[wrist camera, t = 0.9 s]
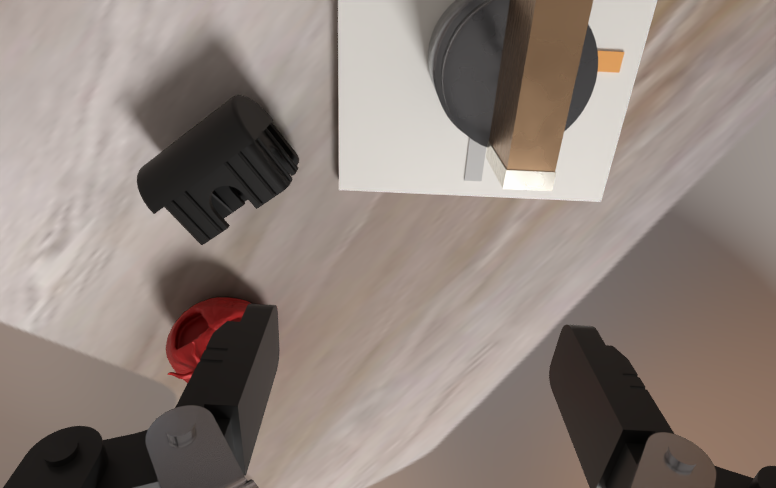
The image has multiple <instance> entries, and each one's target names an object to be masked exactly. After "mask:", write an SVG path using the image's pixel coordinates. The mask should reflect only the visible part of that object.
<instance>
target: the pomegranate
mask: <svg viewBox="0 0 776 488" xmlns="http://www.w3.org/2000/svg"><path fill="white" fill-rule="evenodd" d="M248 304H251V303H250V302H248V301H245V300H241V299H237V298H230V297H216V298H210V299H207V300H205V301H202V302H199V303H197V304H195V305H194V306H192V307H191V308H189V309H188V310H187V311H185V312H184V313H183V314H182V315H181V317H180V318H179V319H178V320H177V321H176V323H175V324H174V325H173V327H172V329H171V331H170V333H169V335H168V338H167V344H166V354H167V358H168V360H169V362H170V364H171V366H172V367H173V369H174V370H175V371H176V373H174V372H170V373H168V375H173V376H175V377H177V378H180V379H183V380H184V381H186V382H187V383H188V382H189V380H190V378H191V376H192V374H193V372H194V370H195V368H196V366H197V364H198V362H200V358H201V356H202V354H203V352H204V350H206V346H207V344H208V342H209V340H210V338H211V336H212V334H213V333H214V332H215V331H216V330H217V329H218V328H220V327H221V326H222V325H223V324H224V323H225V322H227V321H236V322H240V321H241V319H242V316H243V314H244V312H245V310H246V307H247V305H248Z"/></svg>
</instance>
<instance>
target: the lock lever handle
mask: <svg viewBox="0 0 776 488" xmlns="http://www.w3.org/2000/svg"><path fill="white" fill-rule="evenodd" d="M592 4H593V0H486V1H485V2H483V3H481V4H480V5H478V6H477V7H476V8H474V9H473V10H472V11H471V12H470V13H468V14H467V15H466V16H465V18H464V19H463V20H462V21H461V22H460V23H459V25H458V26H457V27H456V29H455V30H454V32H453V34H452V35H451V37H450V39H449V41H448V44H447V46H446V49H445V52H444V55H443V59H442V66H441V86H442V92H443V96H444V99H445V102H446V104H447V107H448V109H449V111H450V113H451V115H452V117H453V119H454V121H455V122H456V124H457V125H458V126H459V128H460V129H461V130H462V131H463V132H464V133H465V134H466V135H467V136H468V137H469V138H471V139H472V140H473V141H475V142H477V143H478V144H480V145H482V146H485V147H487V151H486V159H487V161H488V162H489V164H490V166H491V168H492V170H493V172H494V173H495V175H496V177H497V179H498V181H499V183H500V185H501V186H502V188H503V189H515V190H537V191H552V190H553V185H554V181H555V177H556V171H555V170H556V166H557V161H558V157H559V152H560V148H561V143H562V139H563V134H564V131H566V130H567V129H568V128H569V127H570V126H571V125H572V124H573V123H574V122H575V121H576V120H577V118H578V117H579V116H580V114H581V113H582V112H583V110H584V108H585V107H586V105H587V103H588V101H589V99H590V97H591V95H592V92H593V89H594V86H595V83H596V78H597V72H598V50H597V45H596V41H595V38H594V35H593V32H592V30H591V28H590V26H589V24H588V22H589V18H590V13H591V9H592Z"/></svg>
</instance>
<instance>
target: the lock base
mask: <svg viewBox="0 0 776 488" xmlns="http://www.w3.org/2000/svg"><path fill="white" fill-rule="evenodd" d="M485 1H486V0H338V97H339V190H352V191H374V192H396V193H418V194H440V195H462V196H484V197H506V198H528V199H551V200H573V201H595V202H601V200H602V196H603V193H604V189H605V185H606V182H607V178H608V175H609V171H610V168H611V164H612V160H613V157H614V153H615V150H616V146H617V143H618V139H619V135H620V132H621V128H622V125H623V121H624V118H625V114H626V110H627V107H628V103H629V100H630V96H631V93H632V89H633V85H634V82H635V78H636V75H637V71H638V68H639V64H640V60H641V57H642V53H643V50H644V46H645V43H646V39H647V35H648V32H649V28H650V25H651V21H652V18H653V14H654V10H655V7H656V3H657V0H593V4H592V9H591V13H590V18H589V22H588V24H589V26H590V28H591V30H592V32H593V35H594V38H595V41H596V45H597V50H598V72H597V78H596V83H595V86H594V89H593V92H592V95H591V97H590V99H589V101H588V103H587V105H586V107H585V108H584V110H583V112H582V113H581V114H580V116H579V117H578V118H577V120H576V121H575V122H574V123H573V124H572V125H571V126H570V127H569V128H568V129H567V130H566V131H564V134H563V139H562V143H561V148H560V152H559V157H558V161H557V166H556V170H555V171H556V177H555V181H554V185H553V190H552V191H537V190H515V189H503V188H502V186H501V185H500V183H499V181H498V179H497V177H496V175H495V173H494V172H493V170H492V168H491V166H490V164H489V162H488V161H487V159H486V151H487V147H485V146H482V145H480V144H478V143H477V142H475V141H473V140H472V139H471V138H469V137H468V136H467V135H466V134H465V133H464V132H463V131H462V130H461V129H460V128H459V126H458V125H457V124H456V122H455V121H454V119H453V117H452V115H451V113H450V111H449V109H448V107H447V104H446V102H445V99H444V96H443V92H442V86H441V66H442V59H443V55H444V52H445V49H446V46H447V44H448V41H449V39H450V37H451V35H452V34H453V32H454V30H455V29H456V27H457V26H458V25H459V23H460V22H461V21H462V20H463V19H464V18H465V16H466V15H467V14H468V13H470V12H471V11H472V10H473V9H474V8H476V7H477V6H478V5H480V4H481V3H483V2H485Z"/></svg>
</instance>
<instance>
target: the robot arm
mask: <svg viewBox="0 0 776 488" xmlns="http://www.w3.org/2000/svg"><path fill="white" fill-rule="evenodd" d="M278 361H279V330H278V311H277V306H276V305H262V304H248V305H247V307H246V310H245V312H244V314H243V316H242V319H241V321H240V322H236V321H227V322H225V323H224V324H223V325H222V326H221V327H220V328H218V329H217V330H216V331H215V332H214V333H213V334H212V336H211V338H210V340H209V342H208V344H207V346H206V350H204V352H203V354H202V356H201V358H200V362H198V364H197V366H196V368H195V370H194V372H193V374H192V376H191V378H190V380H189V382H188V384H187V386H186V388H185V390H184V392H183V394H182V396H181V398H180V400H179V402H178V404H177V405H176V407H175V408H174V409H171V410H169V411H167V412H165V413H164V414H162V415H161V416H159V417H158V418H157V419H156V420H155V421H154V422H153V423H152V425H151V426H150V428H149V429H148V430H145V431H142V432H139V433H135V434H131V435H126V436H121V437H116V438H112V439H107V440H102V437H101V436H100V434H99V432H98V431H96V430H95V429H93V428H90V427H85V426H74V427H68V428H65V429H61V430H59V431H56V432H54V433H52V434H50V435H48V436H47V437H45V438H43V439H42V440H40V441H39V442H38V443H36V444H35V445H34V446H33V447H32V448H31V449H30V451H29V452H28V453H27V454H26V455H25V457H24V459H23V460H22V461H21V463H20V464H19V466H18V467H17V468H16V470H15V471H14V473H13V474H12V476H11V477H10V479H9V480H8V481H7V483H6V484H5V486H4V487H3V488H258V486H257V485H256V483H255V482H254V481H253V480H249V481H247V479H246V478H245V476H244V475H246V473H247V470H248V466H249V463H250V459H251V456H252V453H253V449H254V446H255V442H256V439H257V436H258V432H259V429H260V425H261V422H262V419H263V415H264V412H265V409H266V405H267V402H268V398H269V395H270V392H271V388H272V385H273V381H274V378H275V375H276V371H277V367H278ZM549 378H550V385H551V389H552V391H553V394H554V397H555V399H556V402H557V404H558V407H559V409H560V412H561V414H562V417H563V420H564V422H565V425H566V427H567V430H568V432H569V435H570V438H571V440H572V443H573V445H574V448H575V451H576V453H577V456H578V458H579V461H580V463H581V466H582V469H583V471H584V474H585V476H586V479H587V482H588V484H589V487H590V488H776V466H767V467H764V468H762V469H761V470H760V471H759V472H758V473H757V475H756V476H755V478H751V477H748V476H745V475H741V474H738V473H735V472H732V471H729V470H726V469H723V468H719V467H717V466H714V464H713V463H712V461H711V459H710V458H709V457H708V455H707V454H706V453H705V452H704V451H703V450H702V449H701V448H699V447H698V446H697V445H695V444H694V443H693V442H691V441H689V440H687V439H686V438H683V437H681V436H679V435H676V434H674V433H673V431H672V430H671V428H670V426H669V424H668V423H667V421H666V420H665V418H664V416H663V415H662V413H661V411H660V410H659V408H658V407H657V405H656V403H655V402H654V400H653V399H652V397H651V395H650V394H649V392H648V391H647V390H645V386H644V384H643V383H642V381H641V379H640V378H639V377H637V373H636V371H635V370H634V368H633V367H632V365H631V363H630V362H629V360H628V359H627V358H626V357H625V356H624V355H622V354H621V353H620V352H619V351H618V350H617V349H616V348H615V347H613V346H606V345H605V343H604V342H603V340H602V338H601V337H600V335H599V333H598V331H597V330H596V328H595V327H593V326H579V325H565V326H564V327H563V328H562V331H561V333H560V337H559V340H558V343H557V346H556V349H555V352H554V355H553V359H552V362H551V365H550V371H549Z"/></svg>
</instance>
